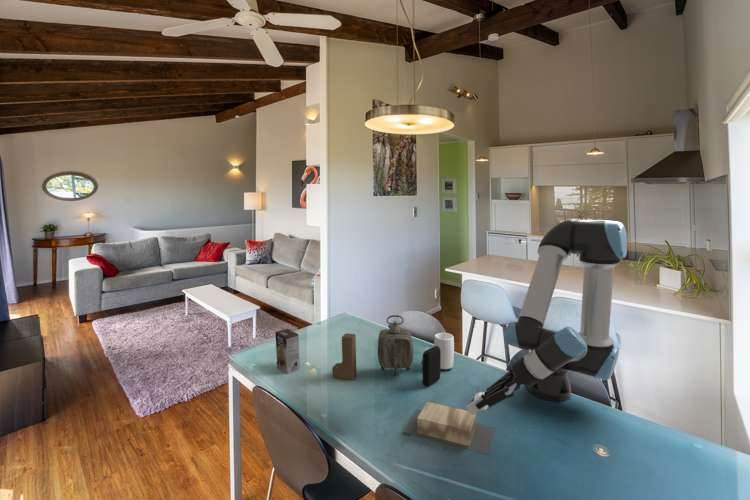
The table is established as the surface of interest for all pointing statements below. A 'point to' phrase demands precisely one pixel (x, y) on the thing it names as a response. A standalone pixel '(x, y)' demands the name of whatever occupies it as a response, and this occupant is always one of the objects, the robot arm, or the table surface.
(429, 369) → the carrying case or bag
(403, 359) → the tabletop clock
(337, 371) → the wooden block
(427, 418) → the slab
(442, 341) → the cup
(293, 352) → the coffee box
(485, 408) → the white oblong lump
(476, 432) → the mat
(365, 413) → the table surface
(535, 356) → the robot arm
